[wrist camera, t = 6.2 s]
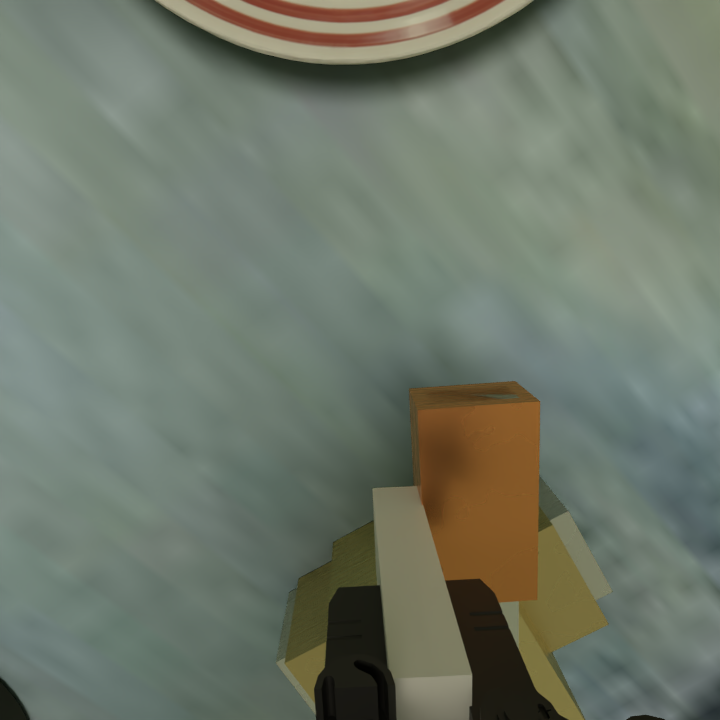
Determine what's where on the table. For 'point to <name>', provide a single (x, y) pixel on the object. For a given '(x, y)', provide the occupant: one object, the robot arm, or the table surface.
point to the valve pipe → (536, 617)
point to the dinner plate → (344, 26)
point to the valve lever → (481, 484)
